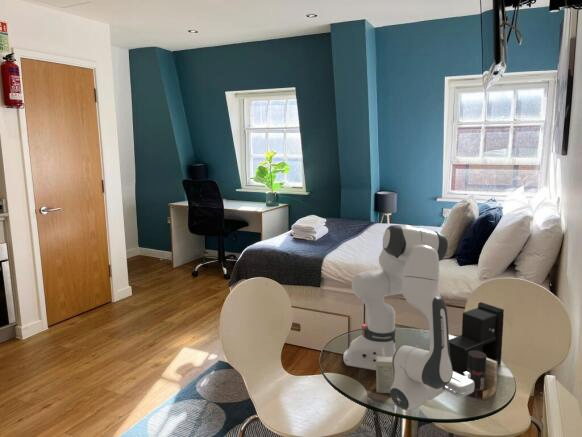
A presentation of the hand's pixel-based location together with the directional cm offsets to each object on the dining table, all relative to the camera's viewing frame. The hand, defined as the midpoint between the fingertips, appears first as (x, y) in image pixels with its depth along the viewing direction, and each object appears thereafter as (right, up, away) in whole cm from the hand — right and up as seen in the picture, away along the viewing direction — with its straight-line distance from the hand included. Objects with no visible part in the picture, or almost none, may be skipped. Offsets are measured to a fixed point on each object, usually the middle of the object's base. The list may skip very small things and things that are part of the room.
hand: (456, 368), depth 150 cm
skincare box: (-22, -12, +11) cm, 27 cm away
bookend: (+17, -9, +27) cm, 33 cm away
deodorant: (+10, -12, +8) cm, 18 cm away
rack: (+12, -12, +10) cm, 19 cm away
